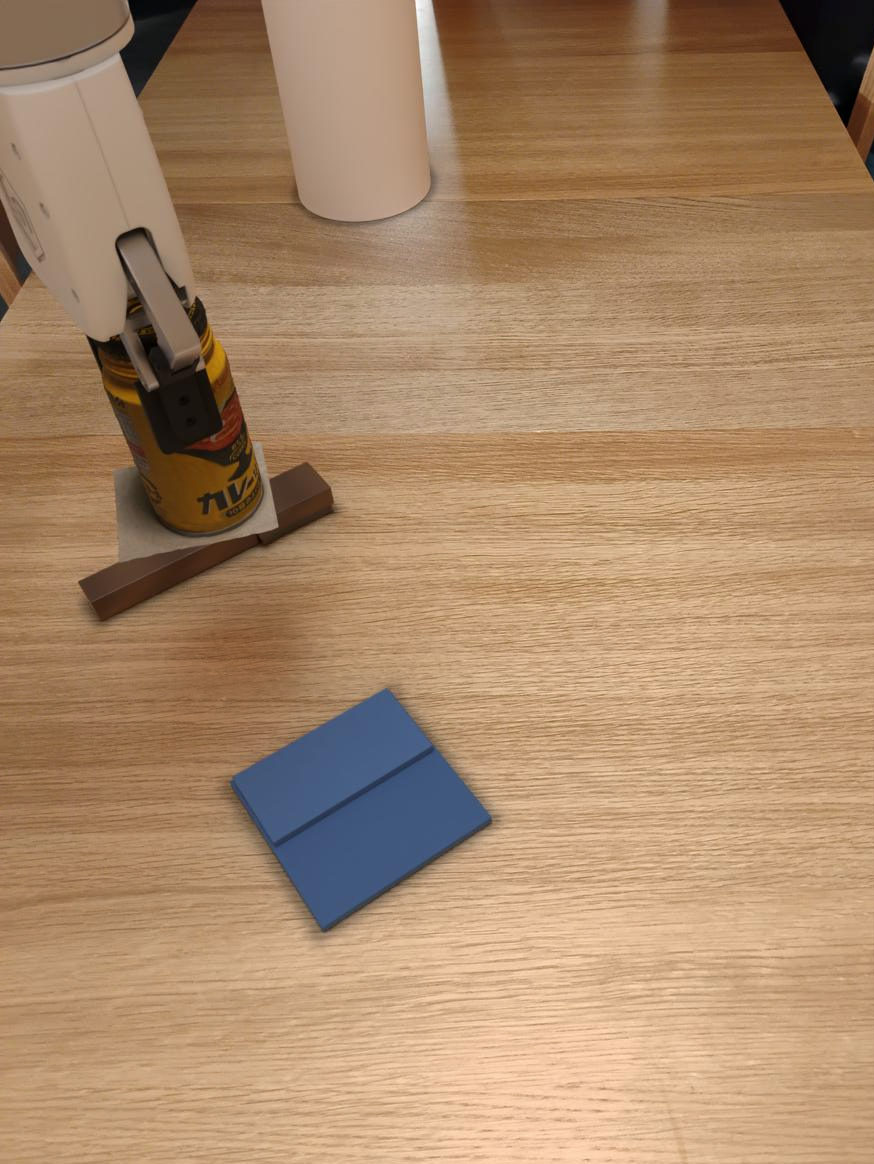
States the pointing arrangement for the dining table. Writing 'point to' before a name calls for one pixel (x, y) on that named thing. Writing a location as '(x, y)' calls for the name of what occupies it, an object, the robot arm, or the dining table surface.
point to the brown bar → (207, 547)
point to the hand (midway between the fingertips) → (161, 402)
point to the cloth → (358, 806)
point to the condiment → (184, 460)
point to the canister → (351, 104)
